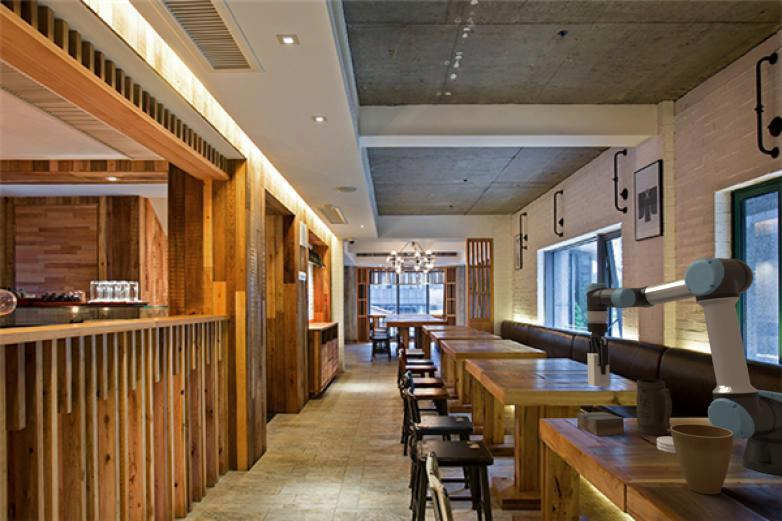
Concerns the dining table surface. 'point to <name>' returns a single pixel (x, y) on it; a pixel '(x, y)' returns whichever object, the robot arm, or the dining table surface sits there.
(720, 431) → the plant pot
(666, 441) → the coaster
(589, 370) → the cream block
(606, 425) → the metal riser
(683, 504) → the dining table surface
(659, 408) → the beer stein
